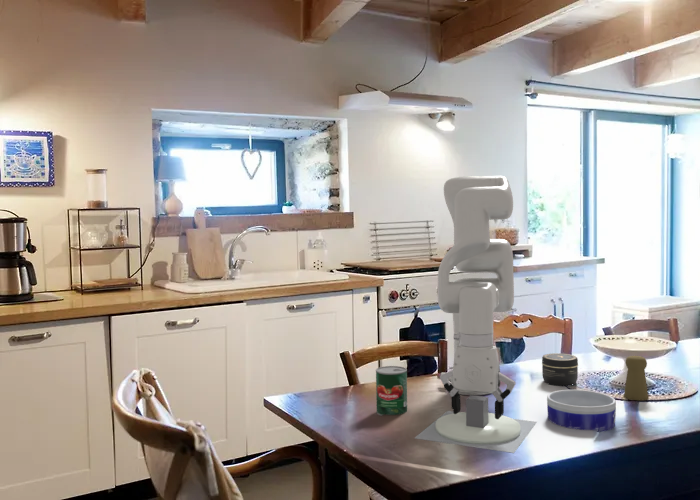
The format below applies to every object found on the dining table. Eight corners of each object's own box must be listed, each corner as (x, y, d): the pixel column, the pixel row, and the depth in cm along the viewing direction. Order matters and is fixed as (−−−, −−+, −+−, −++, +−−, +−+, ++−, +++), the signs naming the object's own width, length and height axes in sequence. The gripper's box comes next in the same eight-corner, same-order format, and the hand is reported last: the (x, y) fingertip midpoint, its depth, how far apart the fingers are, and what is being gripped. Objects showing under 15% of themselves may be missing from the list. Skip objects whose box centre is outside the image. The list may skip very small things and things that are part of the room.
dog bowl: (555, 409, 166) (555, 386, 165) (620, 418, 158) (620, 393, 158) (540, 427, 153) (540, 401, 152) (610, 437, 145) (610, 410, 145)
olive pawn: (651, 400, 171) (651, 359, 170) (626, 400, 172) (626, 358, 172) (645, 394, 177) (645, 354, 176) (621, 393, 178) (621, 353, 178)
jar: (558, 376, 198) (558, 351, 198) (585, 383, 190) (585, 357, 189) (534, 381, 193) (534, 355, 193) (561, 388, 185) (561, 362, 184)
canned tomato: (380, 418, 162) (379, 374, 161) (373, 409, 169) (372, 366, 169) (411, 415, 163) (410, 372, 162) (403, 406, 171) (402, 365, 170)
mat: (414, 440, 145) (414, 437, 145) (447, 413, 165) (447, 410, 164) (514, 455, 135) (514, 452, 135) (536, 424, 154) (536, 421, 154)
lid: (423, 437, 146) (422, 405, 145) (451, 412, 162) (450, 384, 162) (508, 449, 137) (508, 415, 136) (528, 422, 154) (528, 392, 153)
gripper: (434, 340, 149) (435, 415, 150) (510, 346, 141) (511, 424, 142) (445, 335, 156) (446, 406, 157) (518, 340, 148) (519, 415, 149)
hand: (477, 414), depth 149 cm, fingers open, 9 cm apart
